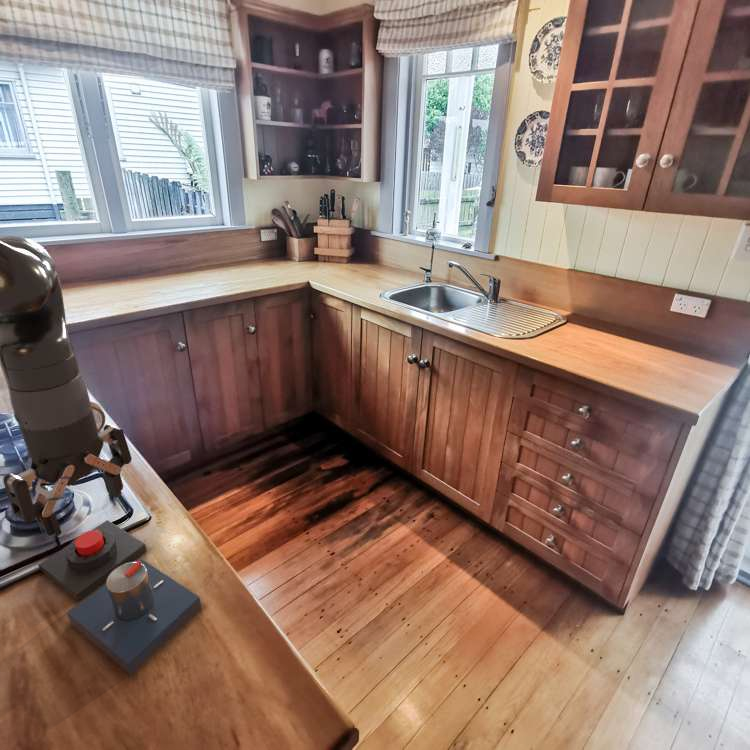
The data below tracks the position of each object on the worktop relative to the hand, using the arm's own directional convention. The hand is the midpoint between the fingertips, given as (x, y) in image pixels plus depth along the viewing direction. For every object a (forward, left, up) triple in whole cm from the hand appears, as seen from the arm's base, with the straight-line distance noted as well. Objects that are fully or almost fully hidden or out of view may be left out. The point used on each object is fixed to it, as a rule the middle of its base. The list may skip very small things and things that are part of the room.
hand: (86, 512), depth 63 cm
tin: (-42, +18, -15) cm, 48 cm away
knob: (+8, -1, -12) cm, 14 cm away
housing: (-6, +1, -15) cm, 16 cm away
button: (-6, +1, -11) cm, 12 cm away
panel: (+8, -1, -15) cm, 17 cm away
